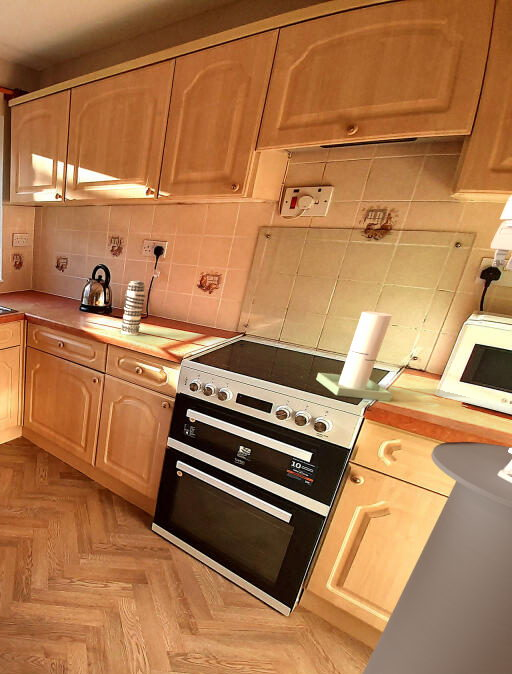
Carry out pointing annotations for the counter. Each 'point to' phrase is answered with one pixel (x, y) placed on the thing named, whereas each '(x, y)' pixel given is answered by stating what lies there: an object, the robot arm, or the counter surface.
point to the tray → (370, 392)
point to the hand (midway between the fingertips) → (503, 268)
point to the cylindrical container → (364, 350)
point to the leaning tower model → (133, 307)
